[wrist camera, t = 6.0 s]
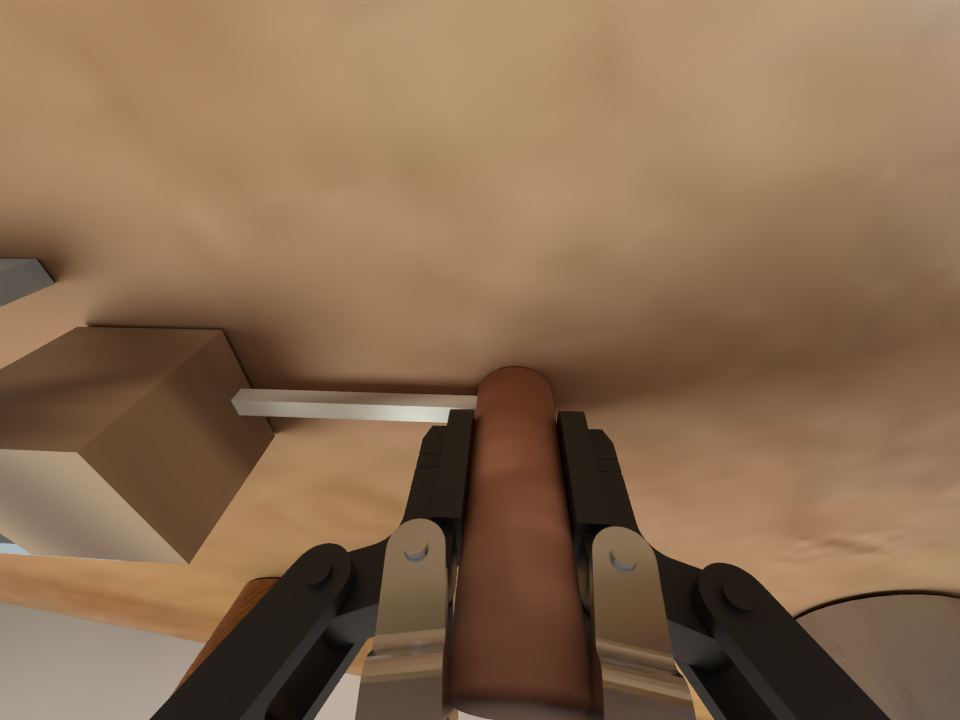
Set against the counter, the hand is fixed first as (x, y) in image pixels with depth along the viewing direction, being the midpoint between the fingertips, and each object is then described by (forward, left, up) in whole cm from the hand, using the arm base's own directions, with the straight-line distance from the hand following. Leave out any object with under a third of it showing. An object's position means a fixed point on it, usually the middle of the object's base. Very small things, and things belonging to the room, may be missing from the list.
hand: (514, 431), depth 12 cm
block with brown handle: (+7, 0, -2) cm, 7 cm away
